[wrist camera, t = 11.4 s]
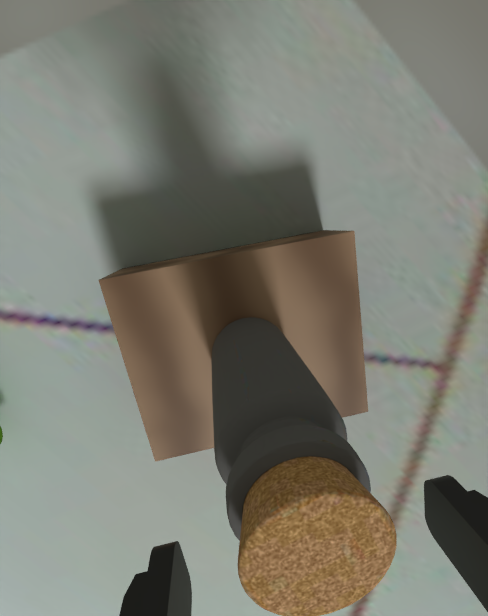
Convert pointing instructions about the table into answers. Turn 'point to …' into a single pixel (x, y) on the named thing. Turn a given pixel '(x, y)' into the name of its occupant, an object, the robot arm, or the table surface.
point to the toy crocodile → (1, 435)
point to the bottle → (292, 479)
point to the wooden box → (226, 309)
